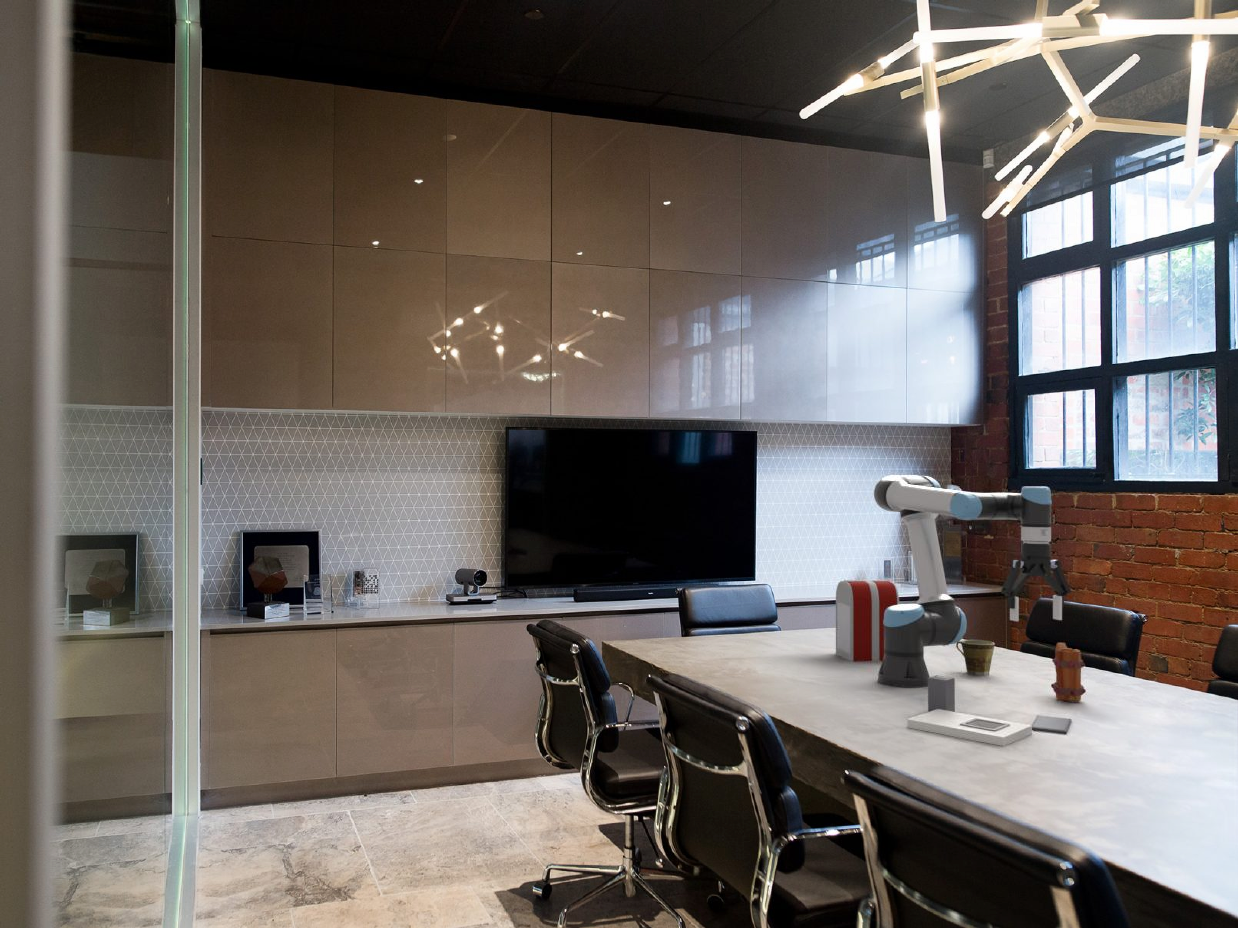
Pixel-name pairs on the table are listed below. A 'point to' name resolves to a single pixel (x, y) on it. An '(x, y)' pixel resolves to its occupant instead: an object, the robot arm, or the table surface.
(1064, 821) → the table surface
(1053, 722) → the phone
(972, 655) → the ceramic cup
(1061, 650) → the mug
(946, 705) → the grey rectangular block
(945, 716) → the outlet plate
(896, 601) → the red striped box
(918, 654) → the robot arm
